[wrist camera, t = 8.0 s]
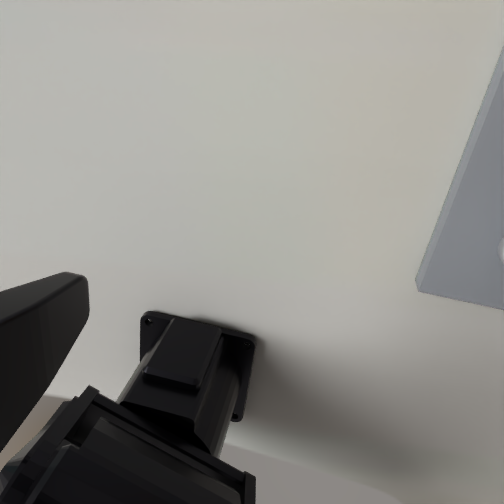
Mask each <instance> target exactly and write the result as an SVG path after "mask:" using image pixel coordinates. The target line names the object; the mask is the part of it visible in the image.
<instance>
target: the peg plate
mask: <svg viewBox="0 0 504 504" xmlns="http://www.w3.org/2000/svg"><path fill="white" fill-rule="evenodd" d="M415 281H416V285H417V288H418V292H423V293H428V294H432V295H437V296H442V297H446V298H451V299H455V300H460V301H465V302H469V303H474V304H479V305H483V306H488V307H492V308H497V309H502V310H504V47H503V49H502V52H501V55H500V57H499V60H498V63H497V65H496V68H495V71H494V73H493V76H492V78H491V81H490V84H489V86H488V89H487V92H486V94H485V97H484V100H483V102H482V105H481V108H480V110H479V113H478V115H477V118H476V121H475V123H474V126H473V129H472V131H471V134H470V137H469V139H468V142H467V145H466V147H465V150H464V152H463V155H462V158H461V160H460V163H459V166H458V168H457V171H456V174H455V176H454V179H453V182H452V184H451V187H450V189H449V192H448V195H447V197H446V200H445V203H444V205H443V208H442V211H441V213H440V216H439V219H438V221H437V224H436V226H435V229H434V232H433V234H432V237H431V240H430V242H429V245H428V248H427V250H426V253H425V256H424V258H423V261H422V263H421V266H420V269H419V271H418V274H417V277H416V279H415Z"/></svg>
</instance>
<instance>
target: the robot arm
mask: <svg viewBox="0 0 504 504" xmlns="http://www.w3.org/2000/svg"><path fill="white" fill-rule="evenodd" d="M89 311H90V308H89V289H88V281H87V278H86V277H85V276H83V275H79V274H75V273H71V272H62V273H59V274H55V275H52V276H49V277H46V278H43V279H40V280H36V281H33V282H30V283H27V284H24V285H20V286H17V287H14V288H11V289H8V290H4V291H1V292H0V452H1V451H2V450H3V448H4V447H5V446H6V444H7V443H8V442H9V440H10V439H11V437H12V436H13V435H14V434H15V432H16V431H17V429H18V428H19V427H20V425H21V424H22V423H23V421H24V420H25V419H26V417H27V416H28V414H29V413H30V412H31V410H32V409H33V408H34V406H35V405H36V404H37V402H38V401H39V400H40V398H41V397H42V395H43V394H44V392H45V391H46V390H47V388H48V387H49V385H50V384H51V382H52V380H53V379H54V377H55V375H56V374H57V372H58V370H59V369H60V367H61V365H62V363H63V362H64V360H65V358H66V357H67V355H68V353H69V351H70V350H71V348H72V346H73V345H74V343H75V341H76V339H77V338H78V336H79V334H80V333H81V331H82V329H83V327H84V326H85V324H86V322H87V320H88V317H89ZM148 319H150V320H152V321H153V322H150V321H149V320H148ZM244 342H247V343H249V344H250V345H246V344H244ZM255 348H256V339H255V338H254V337H253V336H252V335H249V334H246V333H242V332H237V331H233V330H229V329H225V328H221V327H216V326H212V325H208V324H204V323H199V322H195V321H191V320H187V319H183V318H178V317H174V316H170V315H166V314H162V313H157V312H153V311H147V312H145V313H144V315H143V316H142V317H141V320H140V364H139V365H138V367H137V369H136V370H135V372H134V373H133V375H132V377H131V378H130V380H129V381H128V383H127V385H126V386H125V388H124V389H123V391H122V393H121V394H120V396H119V397H118V399H117V401H116V402H114V401H113V400H111V399H109V398H107V397H105V396H104V395H102V394H100V393H99V390H97V389H95V388H94V387H92V386H90V385H89V386H88V387H87V388H86V389H85V391H84V392H83V393H82V394H81V396H80V397H77V396H75V397H74V398H73V399H72V400H71V401H65V402H63V403H62V404H61V405H60V407H59V408H58V410H57V411H56V412H55V414H54V415H53V416H52V417H51V419H50V420H49V421H48V422H47V424H46V425H45V426H44V427H43V429H42V430H41V431H40V432H39V433H38V434H37V435H36V436H35V437H34V438H33V439H32V440H31V441H30V442H29V443H27V445H25V446H24V447H23V448H22V449H21V450H20V451H19V452H18V453H17V454H16V455H15V456H14V457H13V458H12V459H11V460H9V461H8V463H7V464H6V465H5V466H4V468H3V469H2V470H1V472H0V504H255V497H256V496H255V495H256V493H255V492H256V487H255V486H256V477H255V476H253V475H251V474H250V473H248V472H246V471H244V472H242V471H240V470H238V469H236V468H234V467H232V466H231V465H229V464H227V463H225V462H223V461H221V460H220V459H219V457H220V453H221V450H222V447H223V443H224V440H225V437H226V433H227V430H228V427H229V423H230V421H232V422H239V421H241V420H242V418H243V414H244V409H245V404H246V398H247V393H248V387H249V382H250V376H251V371H252V365H253V359H254V354H255ZM235 413H236V414H235Z"/></svg>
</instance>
